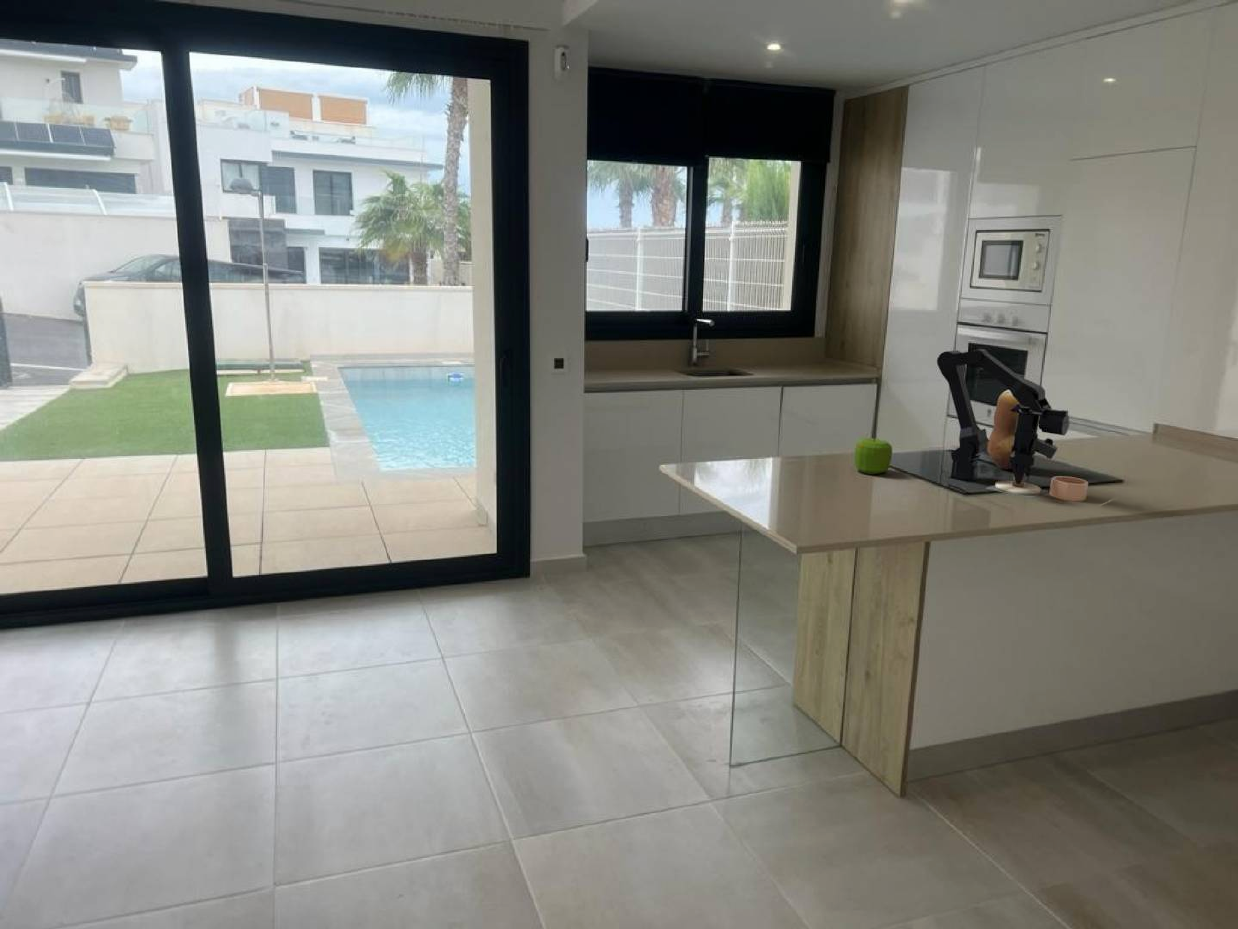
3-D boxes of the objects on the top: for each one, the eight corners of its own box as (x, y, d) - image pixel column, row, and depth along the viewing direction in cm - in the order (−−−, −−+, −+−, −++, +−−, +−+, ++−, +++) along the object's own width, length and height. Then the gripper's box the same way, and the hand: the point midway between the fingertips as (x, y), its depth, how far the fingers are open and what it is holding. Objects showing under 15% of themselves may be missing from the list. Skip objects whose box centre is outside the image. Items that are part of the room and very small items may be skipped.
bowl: (1044, 496, 251) (1047, 479, 250) (1057, 491, 257) (1059, 474, 256) (1077, 503, 245) (1080, 486, 243) (1089, 498, 251) (1092, 481, 249)
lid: (987, 488, 256) (990, 471, 255) (1005, 481, 264) (1008, 465, 263) (1029, 497, 248) (1032, 480, 246) (1047, 490, 256) (1049, 473, 254)
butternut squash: (1036, 475, 275) (1048, 395, 269) (993, 473, 275) (1004, 393, 269) (1018, 464, 288) (1029, 388, 282) (976, 462, 289) (987, 386, 282)
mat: (985, 489, 256) (985, 488, 256) (1004, 482, 265) (1005, 481, 265) (1030, 499, 247) (1030, 498, 247) (1049, 492, 256) (1049, 490, 256)
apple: (897, 475, 269) (901, 440, 266) (866, 477, 265) (870, 441, 262) (875, 466, 279) (879, 432, 276) (845, 468, 275) (849, 433, 273)
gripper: (1058, 438, 240) (1049, 494, 244) (1057, 427, 256) (1049, 479, 260) (1013, 433, 244) (1005, 488, 248) (1015, 422, 261) (1008, 473, 265)
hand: (1018, 482), depth 255 cm, fingers closed on lid, 3 cm apart
